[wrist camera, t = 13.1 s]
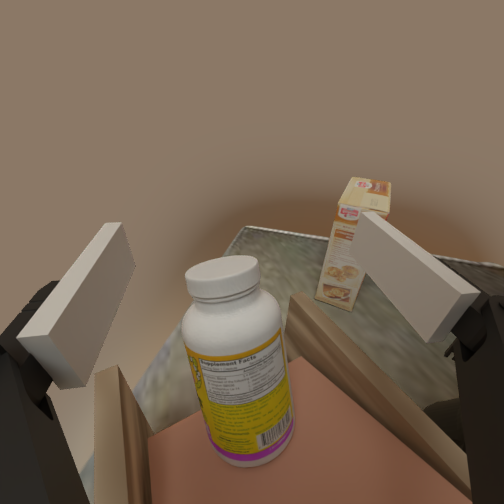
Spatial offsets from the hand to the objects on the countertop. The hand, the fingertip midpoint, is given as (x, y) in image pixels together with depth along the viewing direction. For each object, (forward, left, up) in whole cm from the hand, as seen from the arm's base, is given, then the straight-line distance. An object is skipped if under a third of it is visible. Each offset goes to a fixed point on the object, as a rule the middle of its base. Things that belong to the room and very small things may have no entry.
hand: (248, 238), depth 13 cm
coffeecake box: (-29, -14, -26) cm, 41 cm away
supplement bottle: (+1, +4, -14) cm, 15 cm away
